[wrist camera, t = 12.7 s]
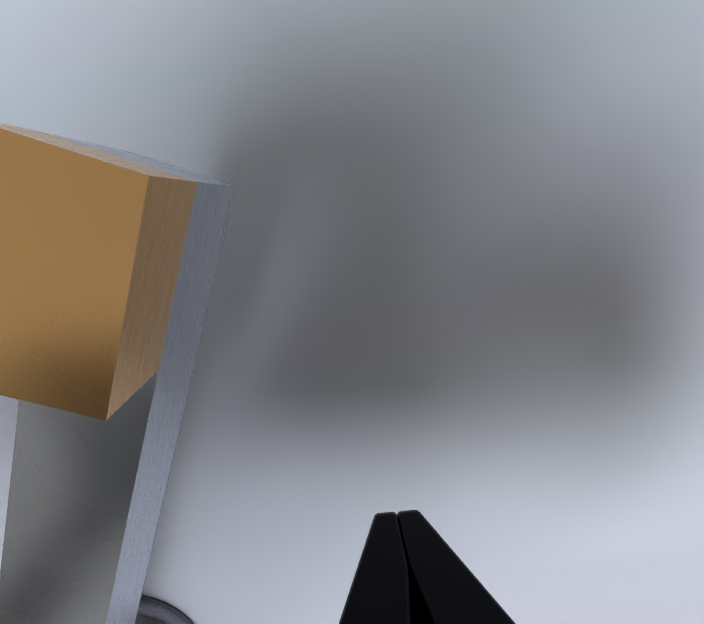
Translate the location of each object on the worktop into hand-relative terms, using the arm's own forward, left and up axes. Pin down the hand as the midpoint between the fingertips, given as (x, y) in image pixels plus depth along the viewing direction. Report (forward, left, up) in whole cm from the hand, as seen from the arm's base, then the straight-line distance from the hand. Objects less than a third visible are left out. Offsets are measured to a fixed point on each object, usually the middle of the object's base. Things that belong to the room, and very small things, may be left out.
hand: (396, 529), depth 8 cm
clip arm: (-2, +6, 0) cm, 6 cm away
